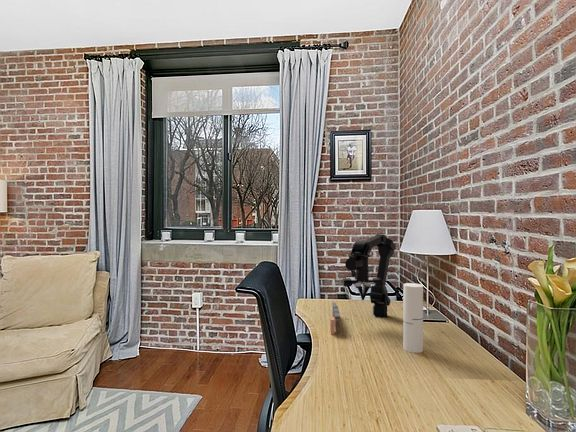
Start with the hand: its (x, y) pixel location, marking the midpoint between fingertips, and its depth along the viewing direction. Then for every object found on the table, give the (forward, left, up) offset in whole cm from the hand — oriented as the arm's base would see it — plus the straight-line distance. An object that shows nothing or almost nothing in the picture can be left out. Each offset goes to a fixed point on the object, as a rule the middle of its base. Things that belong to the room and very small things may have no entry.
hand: (362, 299), depth 157 cm
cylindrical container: (-15, +28, -12) cm, 34 cm away
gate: (+13, +6, -11) cm, 18 cm away
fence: (+14, +2, -12) cm, 18 cm away
